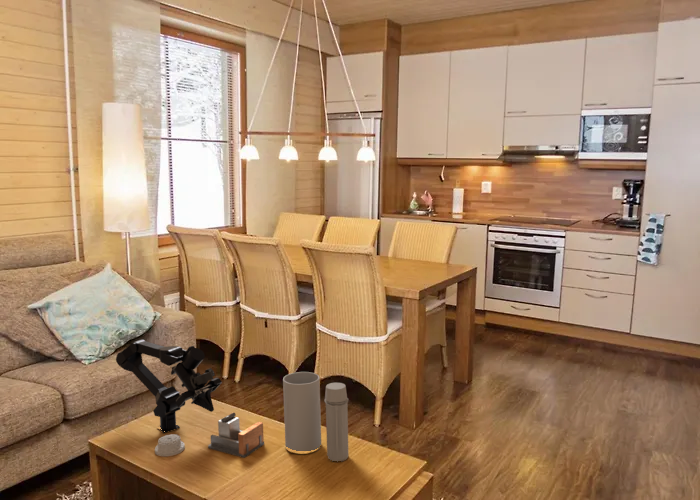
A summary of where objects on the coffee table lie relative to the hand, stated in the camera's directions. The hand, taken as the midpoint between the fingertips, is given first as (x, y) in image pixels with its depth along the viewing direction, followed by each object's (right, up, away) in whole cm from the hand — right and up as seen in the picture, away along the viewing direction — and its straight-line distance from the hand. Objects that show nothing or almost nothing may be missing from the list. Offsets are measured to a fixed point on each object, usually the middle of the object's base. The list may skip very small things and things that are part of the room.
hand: (212, 410), depth 201 cm
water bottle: (+45, -12, -14) cm, 49 cm away
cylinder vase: (+33, -11, -5) cm, 35 cm away
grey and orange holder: (+9, -11, -3) cm, 15 cm away
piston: (+7, -10, -2) cm, 12 cm away
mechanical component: (-14, -13, -5) cm, 19 cm away
